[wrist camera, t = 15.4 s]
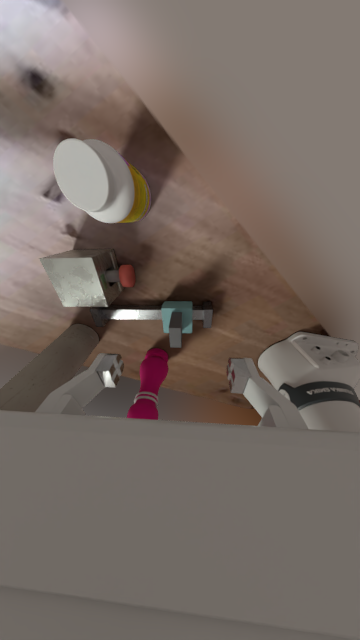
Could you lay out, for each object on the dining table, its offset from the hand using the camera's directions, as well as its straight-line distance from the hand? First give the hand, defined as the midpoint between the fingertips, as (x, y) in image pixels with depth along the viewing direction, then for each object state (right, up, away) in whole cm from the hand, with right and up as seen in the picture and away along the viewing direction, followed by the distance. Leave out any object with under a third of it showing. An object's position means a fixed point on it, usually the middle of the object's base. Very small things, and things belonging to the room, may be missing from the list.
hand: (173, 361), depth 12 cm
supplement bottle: (-7, +22, +12) cm, 27 cm away
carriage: (0, +5, +23) cm, 24 cm away
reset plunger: (-14, +12, +18) cm, 25 cm away
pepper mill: (-6, -7, +32) cm, 33 cm away
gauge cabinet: (-16, +13, +19) cm, 28 cm away
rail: (-5, +5, +23) cm, 25 cm away
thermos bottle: (-25, -1, +29) cm, 38 cm away
